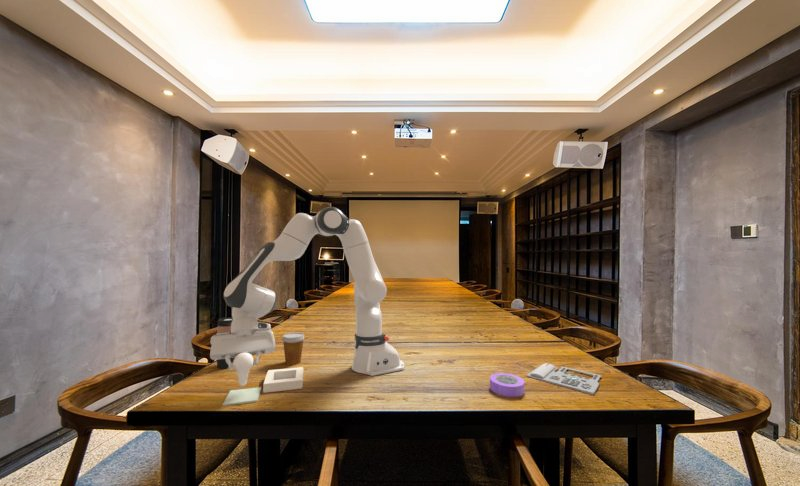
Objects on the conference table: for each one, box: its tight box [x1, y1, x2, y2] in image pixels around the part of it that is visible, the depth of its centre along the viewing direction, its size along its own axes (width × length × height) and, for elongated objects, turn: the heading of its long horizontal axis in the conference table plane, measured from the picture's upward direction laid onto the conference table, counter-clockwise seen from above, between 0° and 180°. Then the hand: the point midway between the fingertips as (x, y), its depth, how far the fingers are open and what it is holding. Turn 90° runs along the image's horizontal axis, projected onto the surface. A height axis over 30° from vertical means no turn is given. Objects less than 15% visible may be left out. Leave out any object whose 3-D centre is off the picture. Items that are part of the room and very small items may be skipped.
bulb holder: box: [262, 366, 304, 394], centre depth 115 cm, size 13×13×3 cm
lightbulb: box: [233, 352, 254, 387], centre depth 104 cm, size 6×6×11 cm
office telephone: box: [526, 362, 603, 396], centre depth 122 cm, size 23×3×20 cm
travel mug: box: [216, 316, 235, 370], centre depth 132 cm, size 8×8×20 cm
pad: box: [222, 386, 263, 407], centre depth 104 cm, size 10×10×1 cm
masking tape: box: [489, 372, 525, 398], centre depth 111 cm, size 12×12×4 cm
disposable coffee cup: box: [281, 332, 306, 366], centre depth 137 cm, size 10×10×12 cm
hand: (243, 367), depth 103 cm, fingers closed on lightbulb, 6 cm apart
